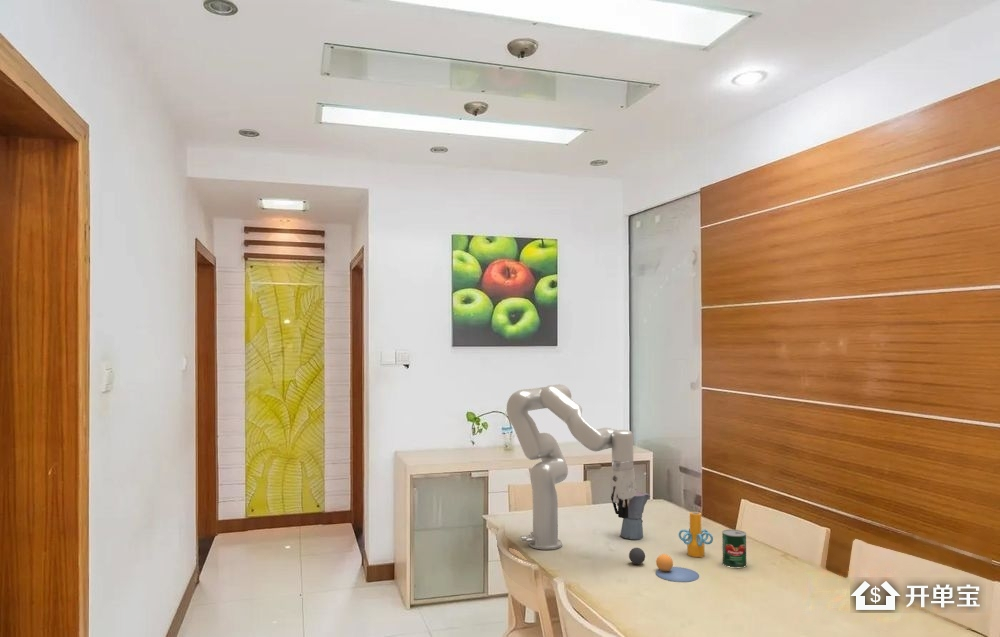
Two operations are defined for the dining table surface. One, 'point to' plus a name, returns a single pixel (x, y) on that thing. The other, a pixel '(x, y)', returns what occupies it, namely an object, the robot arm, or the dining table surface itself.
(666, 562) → the object ball
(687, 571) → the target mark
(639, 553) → the dark grey ball
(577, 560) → the dining table surface
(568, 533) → the dining table surface
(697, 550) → the cylinder
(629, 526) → the moka pot
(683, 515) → the dining table surface
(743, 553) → the canned tomato
